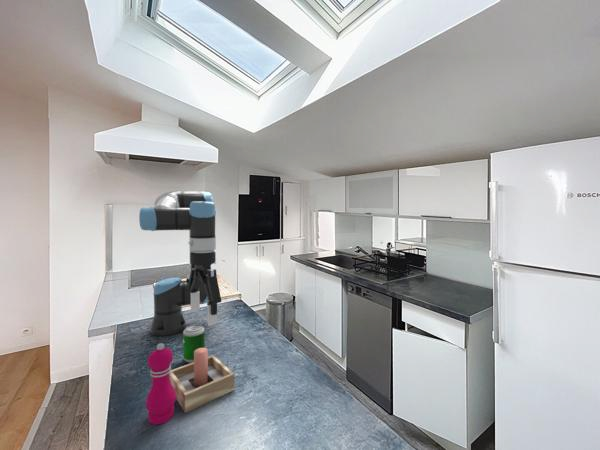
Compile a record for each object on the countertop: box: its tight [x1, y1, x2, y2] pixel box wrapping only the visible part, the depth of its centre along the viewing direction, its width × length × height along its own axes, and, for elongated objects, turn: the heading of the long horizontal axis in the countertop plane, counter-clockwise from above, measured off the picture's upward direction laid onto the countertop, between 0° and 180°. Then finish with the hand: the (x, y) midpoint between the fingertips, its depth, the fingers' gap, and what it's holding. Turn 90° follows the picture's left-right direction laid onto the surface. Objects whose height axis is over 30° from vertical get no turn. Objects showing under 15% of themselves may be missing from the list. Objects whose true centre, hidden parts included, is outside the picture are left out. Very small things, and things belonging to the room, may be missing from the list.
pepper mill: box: [145, 342, 177, 425], centre depth 74 cm, size 7×7×20 cm
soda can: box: [182, 323, 206, 364], centre depth 103 cm, size 8×8×12 cm
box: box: [169, 354, 235, 413], centre depth 86 cm, size 15×15×5 cm
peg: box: [193, 347, 209, 389], centre depth 86 cm, size 4×4×12 cm
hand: (203, 317), depth 87 cm, fingers open, 13 cm apart
